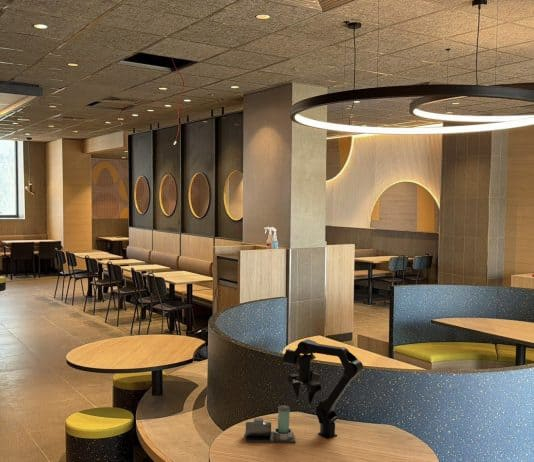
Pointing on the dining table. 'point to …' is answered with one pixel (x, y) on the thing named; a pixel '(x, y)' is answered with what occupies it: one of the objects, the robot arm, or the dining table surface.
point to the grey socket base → (266, 433)
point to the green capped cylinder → (283, 419)
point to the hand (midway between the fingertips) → (303, 400)
